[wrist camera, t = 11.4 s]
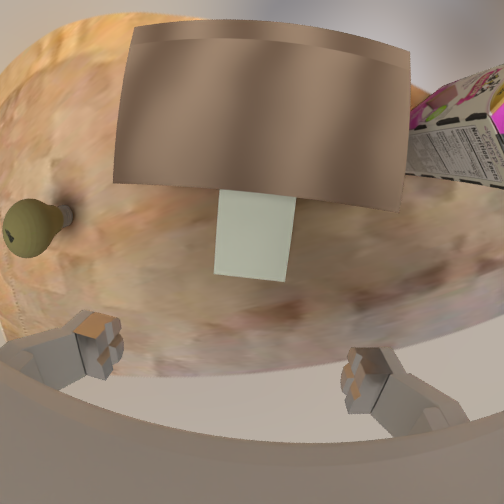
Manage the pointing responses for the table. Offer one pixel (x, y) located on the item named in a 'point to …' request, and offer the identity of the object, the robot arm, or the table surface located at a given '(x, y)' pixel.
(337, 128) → the walnut shelf
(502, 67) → the candy bar box
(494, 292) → the table surface
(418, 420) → the robot arm
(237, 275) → the mint green beam
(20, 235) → the light bulb
